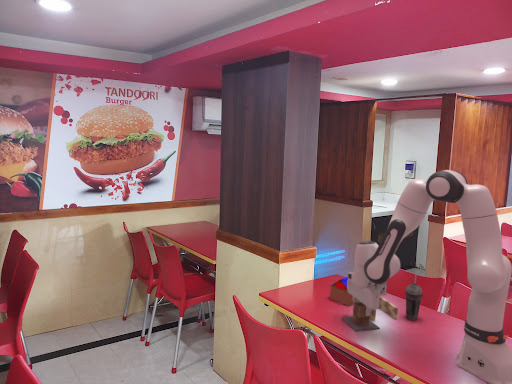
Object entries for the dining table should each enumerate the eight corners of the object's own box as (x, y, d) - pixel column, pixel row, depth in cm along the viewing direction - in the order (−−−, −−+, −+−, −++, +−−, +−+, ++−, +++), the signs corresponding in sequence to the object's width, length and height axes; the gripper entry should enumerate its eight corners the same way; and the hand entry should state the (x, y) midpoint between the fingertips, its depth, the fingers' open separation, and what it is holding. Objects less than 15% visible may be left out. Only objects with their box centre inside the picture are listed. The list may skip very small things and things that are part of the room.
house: (373, 297, 208) (374, 274, 206) (349, 307, 194) (351, 282, 193) (352, 290, 216) (354, 268, 215) (328, 299, 203) (330, 275, 201)
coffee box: (364, 289, 218) (367, 259, 216) (374, 288, 220) (376, 258, 218) (376, 295, 209) (379, 264, 207) (386, 294, 212) (389, 263, 210)
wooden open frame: (397, 318, 182) (398, 308, 182) (373, 321, 179) (373, 310, 178) (379, 306, 195) (380, 296, 195) (357, 308, 192) (357, 298, 191)
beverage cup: (401, 319, 182) (405, 275, 180) (404, 313, 189) (408, 270, 186) (419, 323, 179) (423, 278, 177) (421, 317, 185) (425, 273, 183)
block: (369, 324, 174) (370, 306, 173) (358, 325, 172) (359, 307, 171) (362, 319, 179) (364, 301, 178) (352, 320, 177) (353, 302, 176)
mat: (379, 329, 171) (379, 327, 171) (356, 331, 168) (356, 330, 168) (364, 317, 183) (364, 315, 183) (341, 319, 180) (342, 317, 180)
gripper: (384, 287, 164) (382, 321, 166) (358, 271, 184) (356, 301, 185) (370, 288, 162) (368, 322, 164) (345, 272, 182) (343, 302, 184)
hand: (361, 311), depth 175 cm, fingers open, 7 cm apart
